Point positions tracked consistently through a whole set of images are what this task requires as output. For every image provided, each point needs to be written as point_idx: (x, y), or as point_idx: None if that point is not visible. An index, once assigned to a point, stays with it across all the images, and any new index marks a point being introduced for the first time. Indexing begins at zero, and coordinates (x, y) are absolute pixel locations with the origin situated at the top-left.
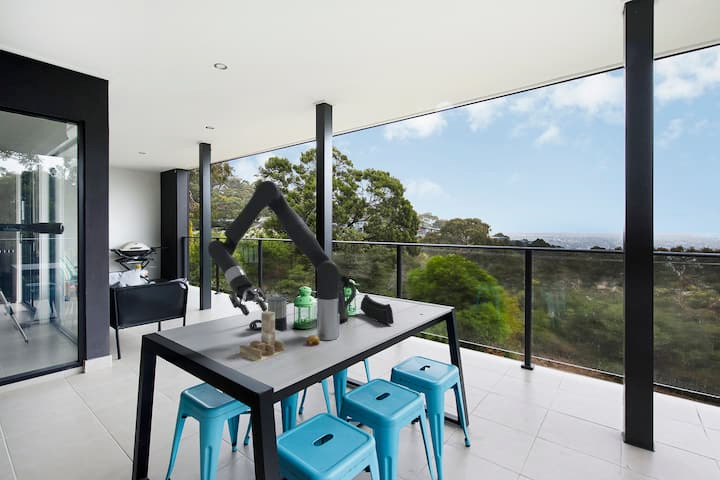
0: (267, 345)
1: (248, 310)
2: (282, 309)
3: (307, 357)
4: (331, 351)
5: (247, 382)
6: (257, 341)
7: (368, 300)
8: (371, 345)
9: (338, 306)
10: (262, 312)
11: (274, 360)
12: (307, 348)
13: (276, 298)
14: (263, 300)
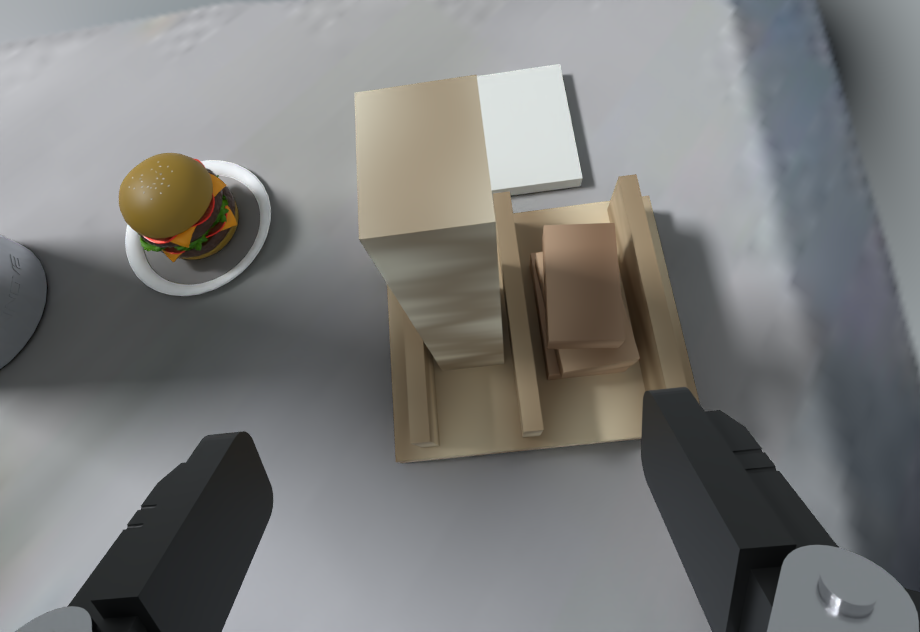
0: (517, 245)
1: (664, 410)
2: None
3: None
4: (202, 107)
5: (798, 62)
6: (562, 316)
7: None
8: (11, 41)
9: None
10: (481, 214)
11: (517, 209)
12: (236, 235)
13: None
14: (54, 613)
